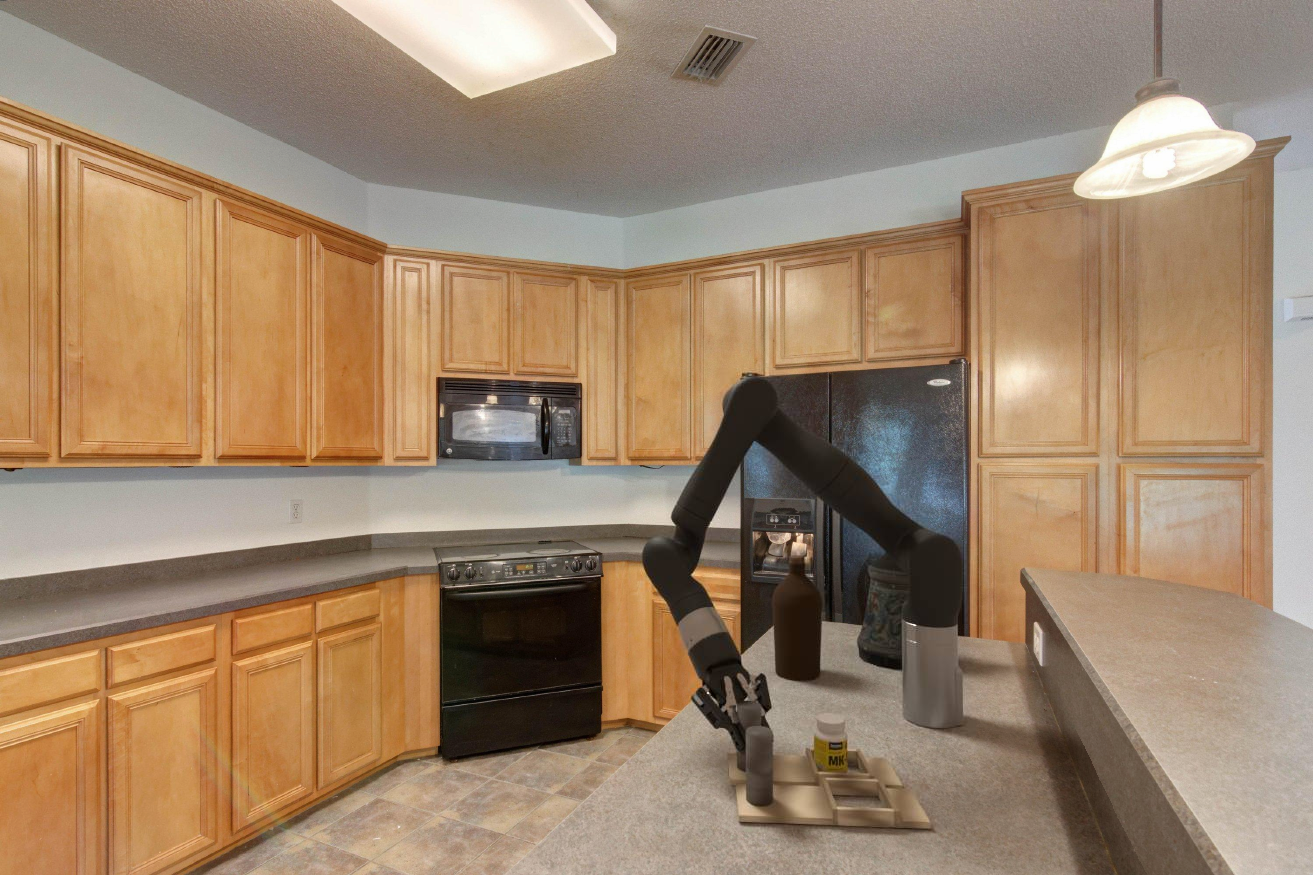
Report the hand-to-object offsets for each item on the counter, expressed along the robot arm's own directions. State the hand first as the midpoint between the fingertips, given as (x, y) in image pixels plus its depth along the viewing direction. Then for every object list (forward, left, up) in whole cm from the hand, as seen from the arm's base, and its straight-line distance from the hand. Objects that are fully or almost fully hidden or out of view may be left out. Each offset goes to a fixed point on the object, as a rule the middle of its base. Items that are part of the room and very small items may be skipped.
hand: (758, 747), depth 94 cm
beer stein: (-38, -58, -5) cm, 69 cm away
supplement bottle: (-11, -2, -5) cm, 12 cm away
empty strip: (-9, +7, -4) cm, 12 cm away
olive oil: (-13, -46, -5) cm, 48 cm away
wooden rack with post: (-8, -2, -4) cm, 9 cm away
